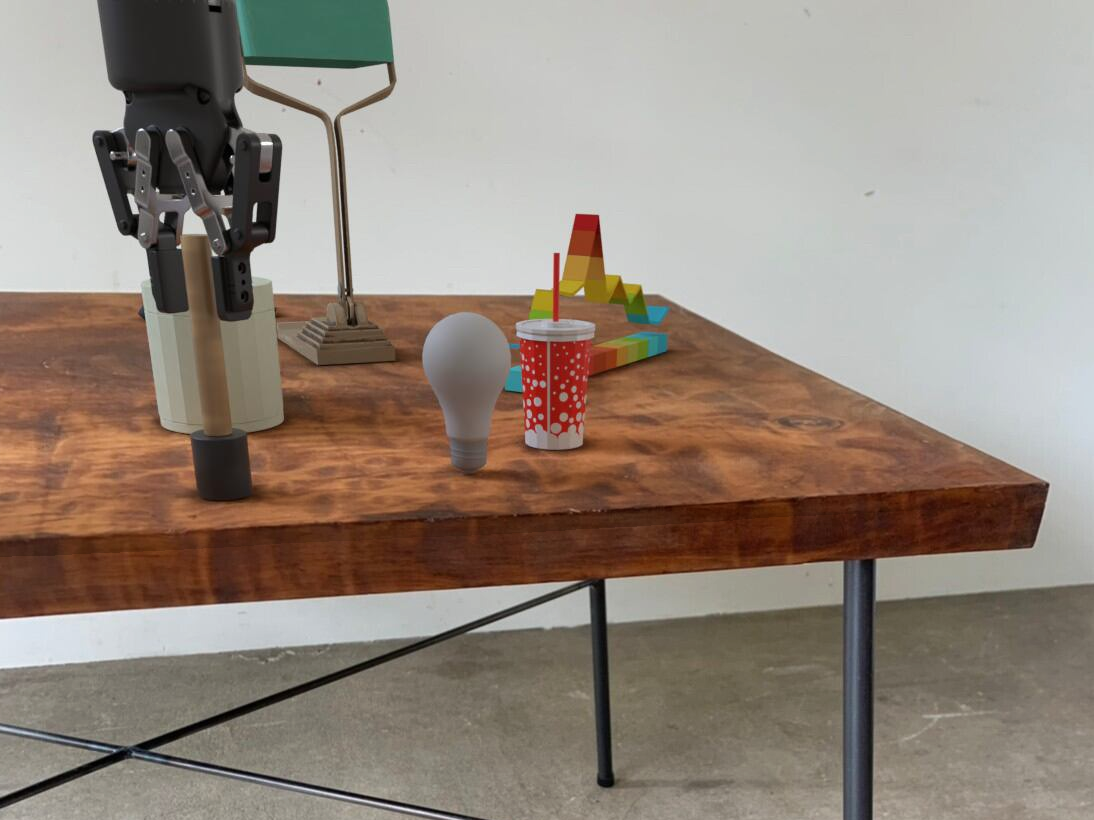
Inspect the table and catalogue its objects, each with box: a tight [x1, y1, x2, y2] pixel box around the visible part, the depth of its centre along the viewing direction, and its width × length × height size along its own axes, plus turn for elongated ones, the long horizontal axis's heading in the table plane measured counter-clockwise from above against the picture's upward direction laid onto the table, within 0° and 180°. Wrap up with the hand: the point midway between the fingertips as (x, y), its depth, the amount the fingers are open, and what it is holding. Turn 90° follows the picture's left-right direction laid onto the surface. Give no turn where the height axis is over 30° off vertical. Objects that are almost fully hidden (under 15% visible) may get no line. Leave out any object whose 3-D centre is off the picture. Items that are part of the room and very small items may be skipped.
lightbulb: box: [421, 311, 512, 475], centre depth 81 cm, size 6×6×11 cm
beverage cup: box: [515, 252, 596, 451], centre depth 89 cm, size 6×6×14 cm
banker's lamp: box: [236, 0, 398, 366], centre depth 123 cm, size 16×21×35 cm
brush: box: [180, 233, 254, 502], centre depth 74 cm, size 4×4×16 cm
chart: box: [504, 213, 670, 393], centre depth 119 cm, size 30×3×15 cm, turn 150°
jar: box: [140, 276, 285, 435], centre depth 95 cm, size 10×10×11 cm
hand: (204, 314), depth 73 cm, fingers open, 5 cm apart
